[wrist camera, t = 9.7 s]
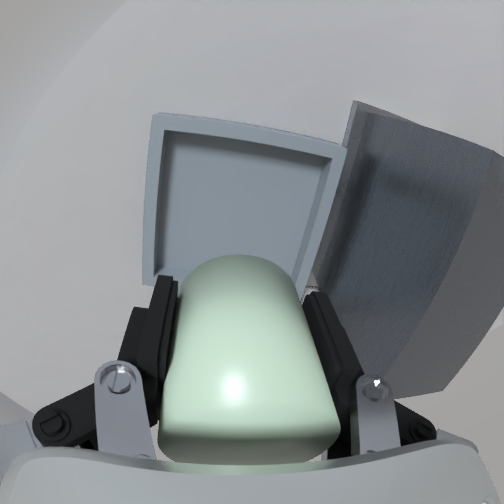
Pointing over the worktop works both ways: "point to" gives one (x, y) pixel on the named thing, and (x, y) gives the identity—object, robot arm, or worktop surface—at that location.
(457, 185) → the panel
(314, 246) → the tray
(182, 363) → the mint green rounded cylinder
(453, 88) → the worktop surface
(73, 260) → the worktop surface
